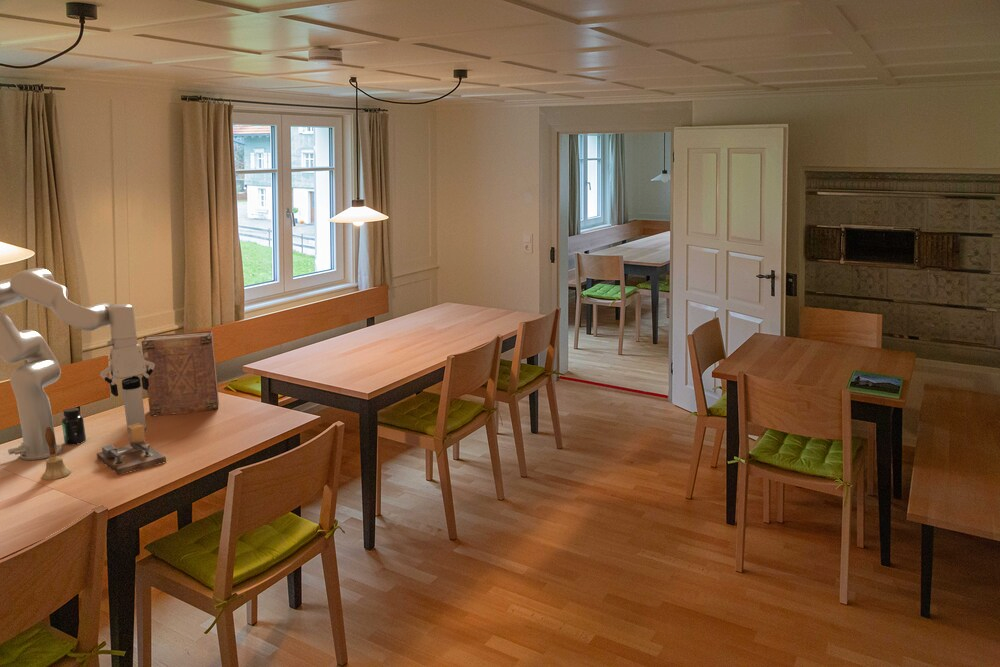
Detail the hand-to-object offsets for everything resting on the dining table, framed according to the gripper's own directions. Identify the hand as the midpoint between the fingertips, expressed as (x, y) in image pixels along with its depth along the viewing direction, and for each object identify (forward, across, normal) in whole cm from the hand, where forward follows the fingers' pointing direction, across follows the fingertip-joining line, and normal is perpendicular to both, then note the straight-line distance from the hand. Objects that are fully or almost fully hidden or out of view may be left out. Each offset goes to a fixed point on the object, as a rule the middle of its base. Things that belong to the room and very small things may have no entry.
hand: (130, 392), depth 271 cm
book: (+22, +32, +38) cm, 54 cm away
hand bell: (+22, -25, +2) cm, 34 cm away
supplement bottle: (+22, -11, +30) cm, 39 cm away
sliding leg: (+20, 0, -4) cm, 20 cm away
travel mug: (+22, +9, +26) cm, 35 cm away
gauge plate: (+22, -3, -3) cm, 23 cm away
